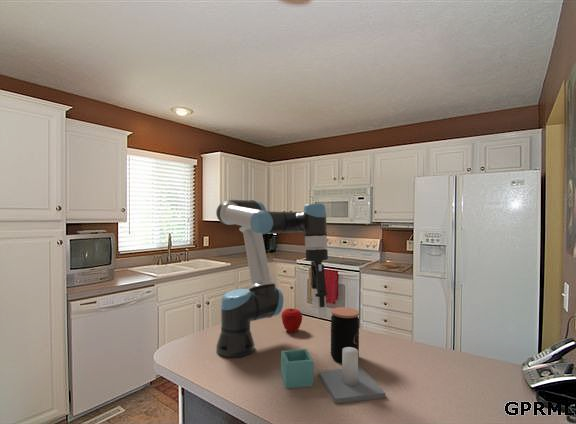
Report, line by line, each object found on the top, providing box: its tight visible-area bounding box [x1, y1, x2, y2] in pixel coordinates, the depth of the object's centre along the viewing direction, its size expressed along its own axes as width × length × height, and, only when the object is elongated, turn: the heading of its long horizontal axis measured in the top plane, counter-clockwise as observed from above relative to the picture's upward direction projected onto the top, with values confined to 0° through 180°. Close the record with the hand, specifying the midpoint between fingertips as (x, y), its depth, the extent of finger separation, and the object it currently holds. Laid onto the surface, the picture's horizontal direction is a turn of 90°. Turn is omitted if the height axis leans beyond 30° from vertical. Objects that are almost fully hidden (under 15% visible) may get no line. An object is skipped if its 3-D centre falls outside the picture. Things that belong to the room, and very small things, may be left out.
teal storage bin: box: [280, 348, 315, 389], centre depth 104 cm, size 9×9×8 cm
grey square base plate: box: [318, 347, 386, 404], centre depth 100 cm, size 16×16×12 cm
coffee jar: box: [330, 306, 360, 364], centre depth 120 cm, size 11×11×18 cm
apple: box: [281, 308, 303, 333], centre depth 147 cm, size 10×10×11 cm
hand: (319, 311), depth 105 cm, fingers open, 13 cm apart
